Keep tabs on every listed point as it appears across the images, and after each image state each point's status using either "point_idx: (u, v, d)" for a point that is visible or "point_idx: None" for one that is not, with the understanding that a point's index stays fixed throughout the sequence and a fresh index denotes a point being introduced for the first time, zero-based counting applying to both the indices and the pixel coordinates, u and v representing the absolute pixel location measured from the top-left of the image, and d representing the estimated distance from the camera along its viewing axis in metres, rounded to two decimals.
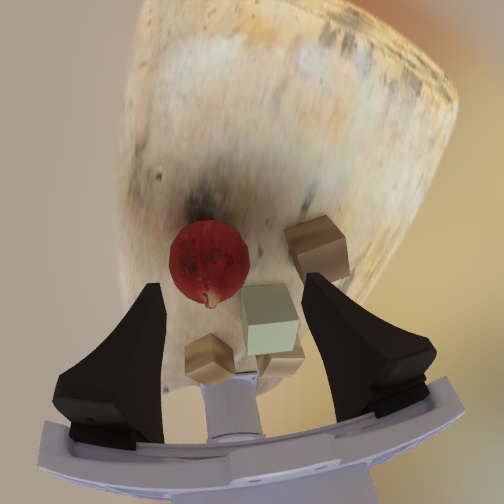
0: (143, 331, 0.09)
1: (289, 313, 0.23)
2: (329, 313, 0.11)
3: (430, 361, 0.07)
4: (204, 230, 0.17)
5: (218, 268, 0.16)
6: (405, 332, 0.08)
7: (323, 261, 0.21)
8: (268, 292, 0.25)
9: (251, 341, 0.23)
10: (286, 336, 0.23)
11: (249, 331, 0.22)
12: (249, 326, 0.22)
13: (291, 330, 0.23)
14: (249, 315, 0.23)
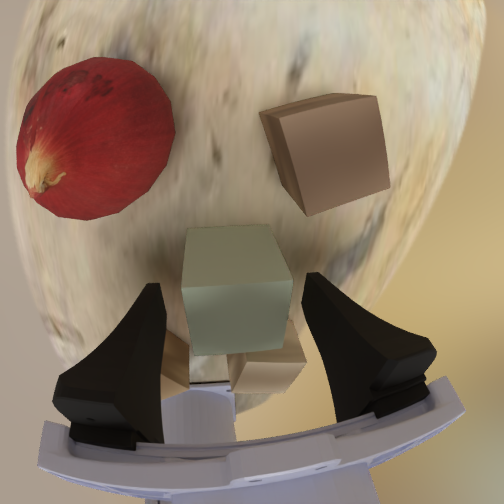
0: (143, 331, 0.09)
1: (272, 267, 0.11)
2: (329, 313, 0.11)
3: (430, 361, 0.07)
4: (81, 62, 0.06)
5: (68, 100, 0.05)
6: (405, 332, 0.08)
7: (338, 144, 0.09)
8: (234, 235, 0.14)
9: (195, 325, 0.11)
10: (268, 318, 0.12)
11: (186, 302, 0.11)
12: (183, 290, 0.10)
13: (277, 304, 0.11)
14: (189, 269, 0.11)
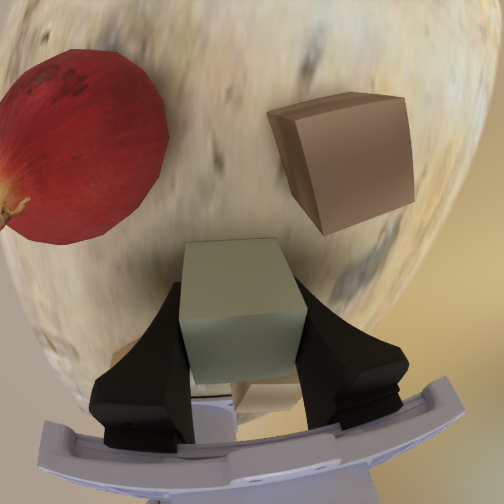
0: (178, 330, 0.09)
1: (282, 293, 0.10)
2: None
3: (402, 372, 0.07)
4: None
5: (32, 103, 0.03)
6: (375, 340, 0.08)
7: (362, 153, 0.08)
8: (239, 252, 0.12)
9: (196, 356, 0.10)
10: (278, 347, 0.10)
11: (185, 334, 0.09)
12: (182, 322, 0.09)
13: (288, 334, 0.10)
14: (188, 296, 0.10)
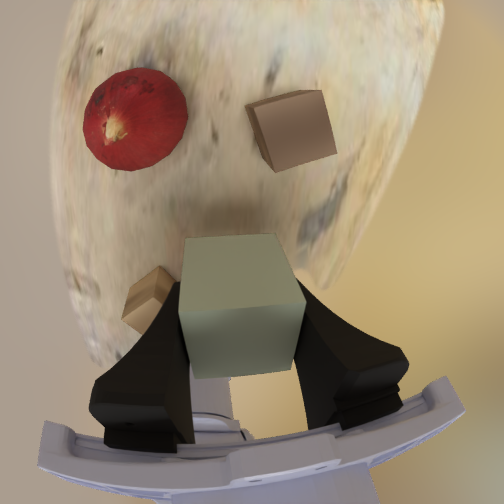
0: (178, 330, 0.09)
1: (281, 286, 0.10)
2: None
3: (402, 372, 0.07)
4: (127, 70, 0.10)
5: (129, 93, 0.09)
6: (375, 340, 0.08)
7: (294, 123, 0.14)
8: (238, 246, 0.12)
9: (196, 350, 0.10)
10: (277, 341, 0.10)
11: (184, 327, 0.09)
12: (181, 314, 0.09)
13: (287, 327, 0.10)
14: (187, 289, 0.10)
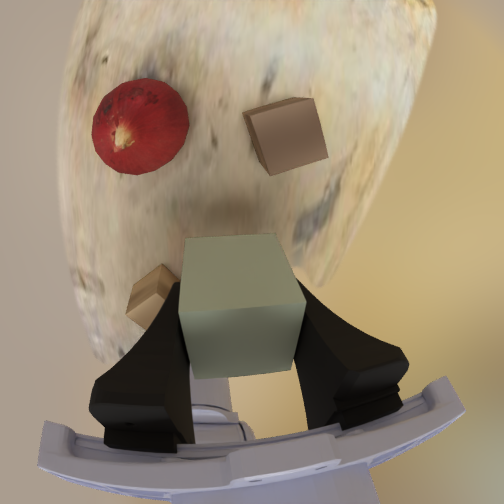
0: (178, 330, 0.09)
1: (281, 286, 0.10)
2: None
3: (402, 372, 0.07)
4: (133, 80, 0.11)
5: (135, 104, 0.10)
6: (375, 340, 0.08)
7: (288, 130, 0.15)
8: (238, 246, 0.12)
9: (196, 350, 0.10)
10: (277, 341, 0.10)
11: (184, 327, 0.09)
12: (181, 314, 0.09)
13: (287, 328, 0.10)
14: (187, 289, 0.10)
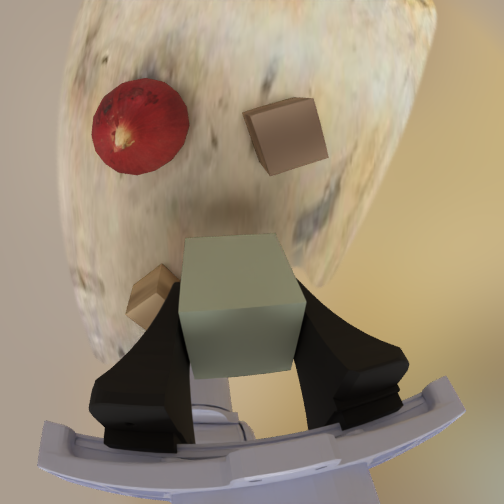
0: (178, 330, 0.09)
1: (281, 286, 0.10)
2: None
3: (402, 372, 0.07)
4: (133, 80, 0.11)
5: (135, 104, 0.10)
6: (375, 340, 0.08)
7: (288, 130, 0.15)
8: (238, 246, 0.12)
9: (196, 350, 0.10)
10: (277, 341, 0.10)
11: (184, 327, 0.09)
12: (181, 314, 0.09)
13: (287, 328, 0.10)
14: (187, 289, 0.10)
